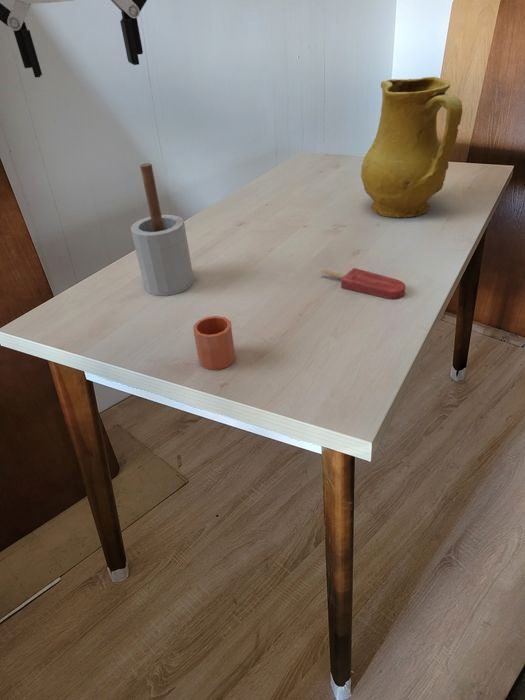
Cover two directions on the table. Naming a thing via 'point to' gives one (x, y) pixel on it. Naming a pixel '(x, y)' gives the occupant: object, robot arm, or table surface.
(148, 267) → the grey hollow cylinder
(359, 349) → the table surface
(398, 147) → the pitcher
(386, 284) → the popsicle
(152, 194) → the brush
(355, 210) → the table surface
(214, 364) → the pen cup
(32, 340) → the table surface
